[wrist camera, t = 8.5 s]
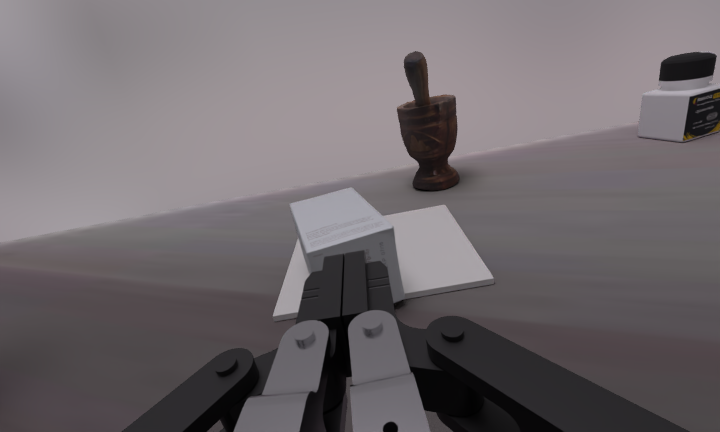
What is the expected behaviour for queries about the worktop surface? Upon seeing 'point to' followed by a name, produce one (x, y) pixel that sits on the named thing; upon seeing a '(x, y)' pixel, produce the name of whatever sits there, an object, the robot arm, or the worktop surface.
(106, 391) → the worktop surface
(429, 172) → the mortar and pestle
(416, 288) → the mat
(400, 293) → the supplement box
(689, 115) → the medicine bottle
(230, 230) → the worktop surface
